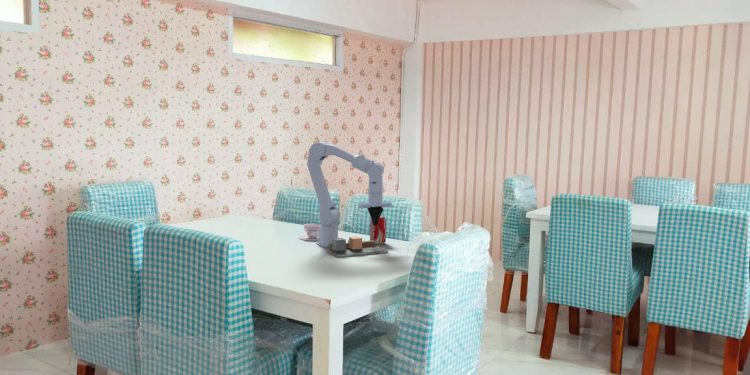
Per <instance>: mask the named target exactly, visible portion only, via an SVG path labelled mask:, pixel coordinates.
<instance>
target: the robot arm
mask: <svg viewBox="0 0 750 375" xmlns="http://www.w3.org/2000/svg"><path fill="white" fill-rule="evenodd" d="M328 156H335V157H337V158H340V159H341V160H344V161H347V162H348V163H351V166H352V168H354V169H356V170H359V171H361V172H363V173H364V174H367V175H368V178H369V179H368V202H362V203H358V209H367V211H368V213H369V216H370V220H371V219H372V224H373V225H378V221H379V218H380V215H382V213H383V211H384V208H392V206H393V202H392V201H383V187H384V186H383V183H384V182H383V175H384V174H385V167H384V165H382V164H381V163H380V162H375V160H373V159H372V160H371V159H370V158H366V157H365V155H364V154H357V155H354V154H352V153H350V152H348V151H346V150H344V149H343V148H342V147H339V146H338V145H335V144H333V143H330V142H328V141H320V142H319V141H317V142H316V141H315V142H313V144H311V145H310V147H309V149H308V156H307V163H306V165H307V168H308V173H309V175H310V178H311V181H312V184H313V187H314V190H315V195H316V197H317V201H318V204H319V205H318V211H319V212H318V213H319V215H318V216H319V219H318V220H319V221H320V224H321V225H320V227H319V229H318V238H317V239H318V240H317V241H318V242H316V243H315V244H316V245H319V246H320V247H322V248H329V244H332V241H333V238H339V222H338V221H339V219H340V216H341V213H340V211H339V209H337V207H336V205H335V203H334V201H332V199H331V198H332V197H331V196H330V192H329V188H328V186H327V182H326V179H325V176H324V173H323V170H322V167H321V165H322V163H323V162H324V160H325V159H326V158H327V157H328Z"/></svg>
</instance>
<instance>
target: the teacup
mask: <svg viewBox="0 0 750 375" xmlns="http://www.w3.org/2000/svg"><path fill="white" fill-rule="evenodd" d="M320 225H321V223H305V224H303V226H304V229H303V230H304V231H305V233H306V235H301V236H299V237H298V239H299V240H301V241H310V242H311V241H318V229H319V227H320Z"/></svg>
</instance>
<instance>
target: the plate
mask: <svg viewBox="0 0 750 375" xmlns="http://www.w3.org/2000/svg"><path fill="white" fill-rule="evenodd" d="M325 251H326V253H328V254H330V255H333V257H334V256H335V257H336V258H345V257H346V258H347V257H358V256H366V255H367V256H368V255H378V254H388V253H389V250H388V249H386V248H383V247H381V246H378V245H375V246H370V247H362V250H359V251H352V250H350V249H349V248H347V249H346V252H339V253H336V252H334V251H332V250H330V249H329V248H326V250H325Z"/></svg>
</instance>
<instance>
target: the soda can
mask: <svg viewBox="0 0 750 375" xmlns="http://www.w3.org/2000/svg"><path fill="white" fill-rule="evenodd" d="M385 217H386V216H385V215H383V214H381V215H380V218H379V221H378V225H373V224H372V219H371V218H370V220H369V241H375V245H376V246H378V245H380V246H381V245H384V244H385V243H386V242H387V219H386V218H385Z"/></svg>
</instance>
